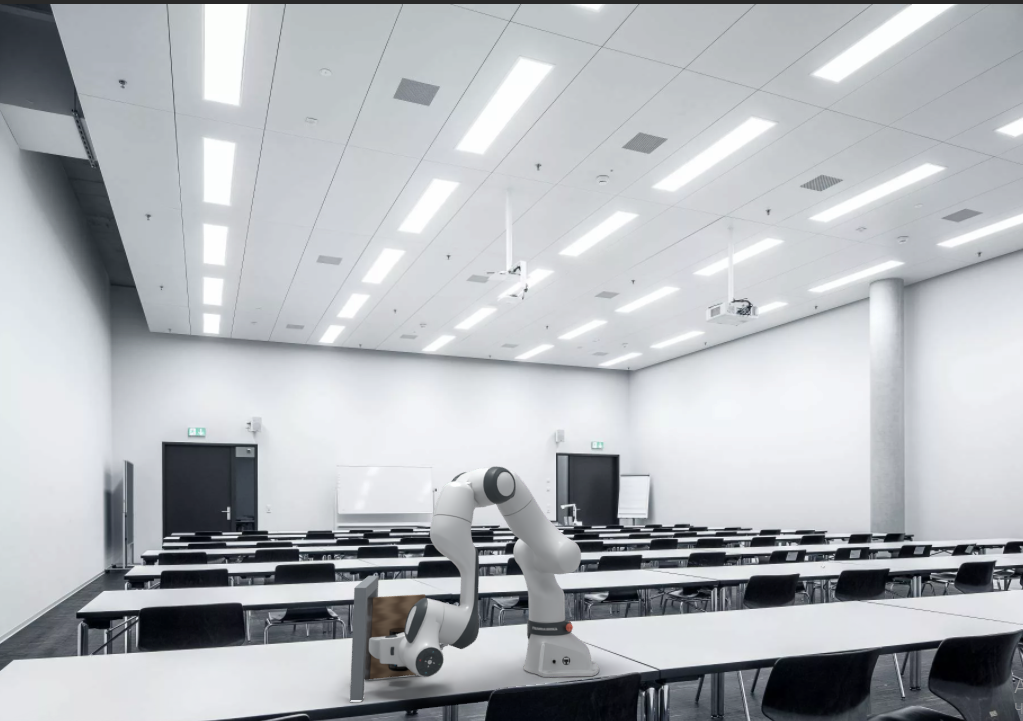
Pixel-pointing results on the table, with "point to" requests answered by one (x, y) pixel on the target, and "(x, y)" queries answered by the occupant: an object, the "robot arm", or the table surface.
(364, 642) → the door frame
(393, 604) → the door
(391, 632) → the supplement container
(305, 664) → the table surface
